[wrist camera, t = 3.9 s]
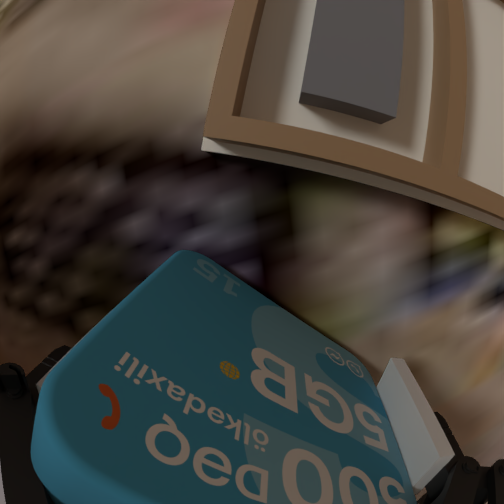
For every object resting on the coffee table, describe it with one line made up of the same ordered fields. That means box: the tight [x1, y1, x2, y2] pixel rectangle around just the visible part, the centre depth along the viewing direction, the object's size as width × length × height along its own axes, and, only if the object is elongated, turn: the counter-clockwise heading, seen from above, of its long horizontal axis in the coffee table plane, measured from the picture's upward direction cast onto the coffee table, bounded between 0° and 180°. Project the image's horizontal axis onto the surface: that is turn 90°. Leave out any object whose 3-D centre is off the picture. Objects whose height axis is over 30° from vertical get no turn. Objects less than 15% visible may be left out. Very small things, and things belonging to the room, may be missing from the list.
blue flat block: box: [31, 250, 417, 504], centre depth 10 cm, size 12×4×12 cm, turn 55°
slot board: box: [201, 0, 504, 230], centre depth 10 cm, size 22×18×3 cm
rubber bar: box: [299, 0, 404, 124], centre depth 10 cm, size 4×12×2 cm, turn 169°
